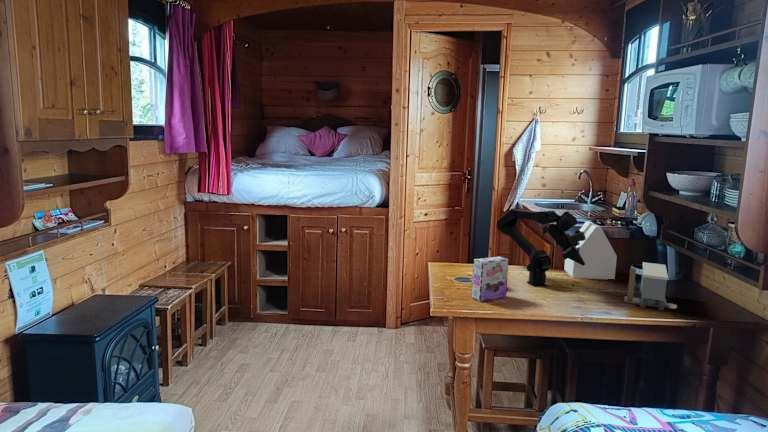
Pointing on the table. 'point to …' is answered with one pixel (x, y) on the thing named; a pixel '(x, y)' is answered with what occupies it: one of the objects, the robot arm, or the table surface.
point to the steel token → (671, 306)
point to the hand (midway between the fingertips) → (584, 264)
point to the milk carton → (593, 255)
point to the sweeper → (631, 290)
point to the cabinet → (653, 284)
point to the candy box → (489, 278)
